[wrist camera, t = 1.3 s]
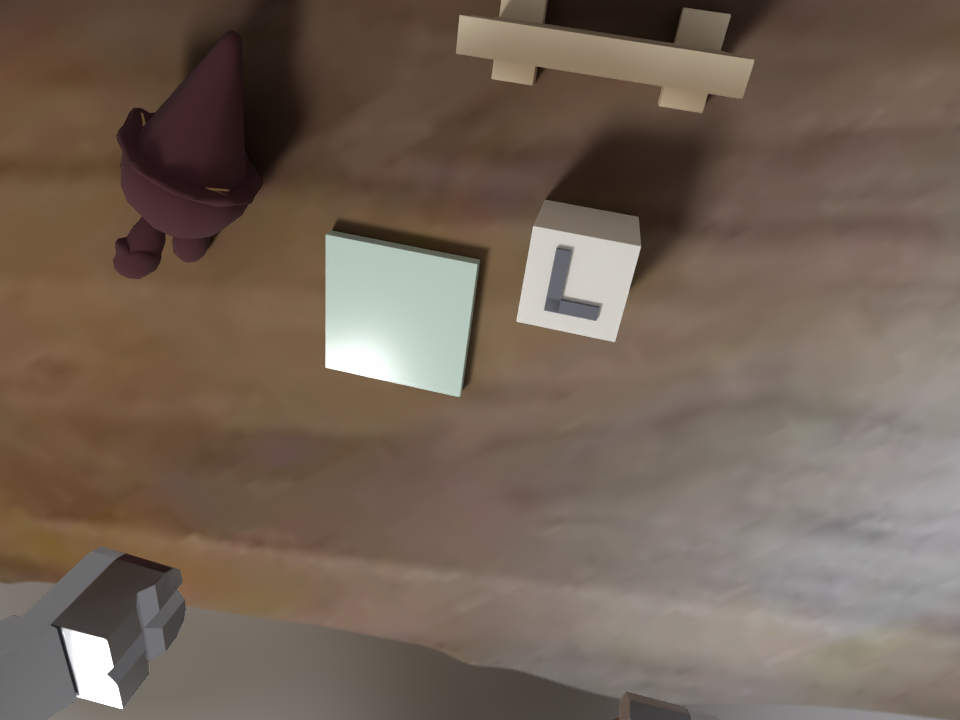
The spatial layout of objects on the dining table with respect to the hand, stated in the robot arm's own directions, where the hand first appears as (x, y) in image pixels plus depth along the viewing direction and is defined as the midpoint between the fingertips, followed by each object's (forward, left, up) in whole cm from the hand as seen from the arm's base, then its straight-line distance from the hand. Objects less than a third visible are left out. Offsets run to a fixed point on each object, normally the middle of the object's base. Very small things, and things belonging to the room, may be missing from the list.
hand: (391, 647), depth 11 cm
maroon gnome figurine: (-1, -19, -26) cm, 32 cm away
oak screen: (-9, +1, -26) cm, 28 cm away
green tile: (+7, -8, -26) cm, 28 cm away
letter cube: (+1, +2, -26) cm, 26 cm away
